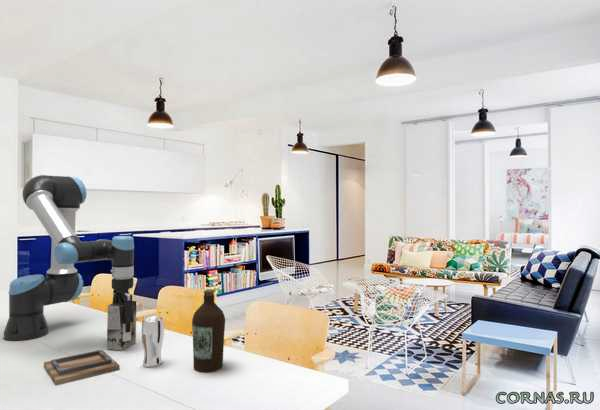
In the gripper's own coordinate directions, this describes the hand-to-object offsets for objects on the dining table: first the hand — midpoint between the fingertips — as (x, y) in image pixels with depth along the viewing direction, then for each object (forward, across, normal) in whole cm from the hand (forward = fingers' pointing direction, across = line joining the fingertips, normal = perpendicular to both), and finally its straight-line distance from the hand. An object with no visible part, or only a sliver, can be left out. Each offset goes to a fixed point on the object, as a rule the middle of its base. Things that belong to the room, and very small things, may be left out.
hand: (121, 336), depth 157 cm
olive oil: (+3, +38, +15) cm, 41 cm away
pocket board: (+3, +13, -17) cm, 22 cm away
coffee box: (+4, 0, 0) cm, 4 cm away
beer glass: (+4, +24, +2) cm, 25 cm away
